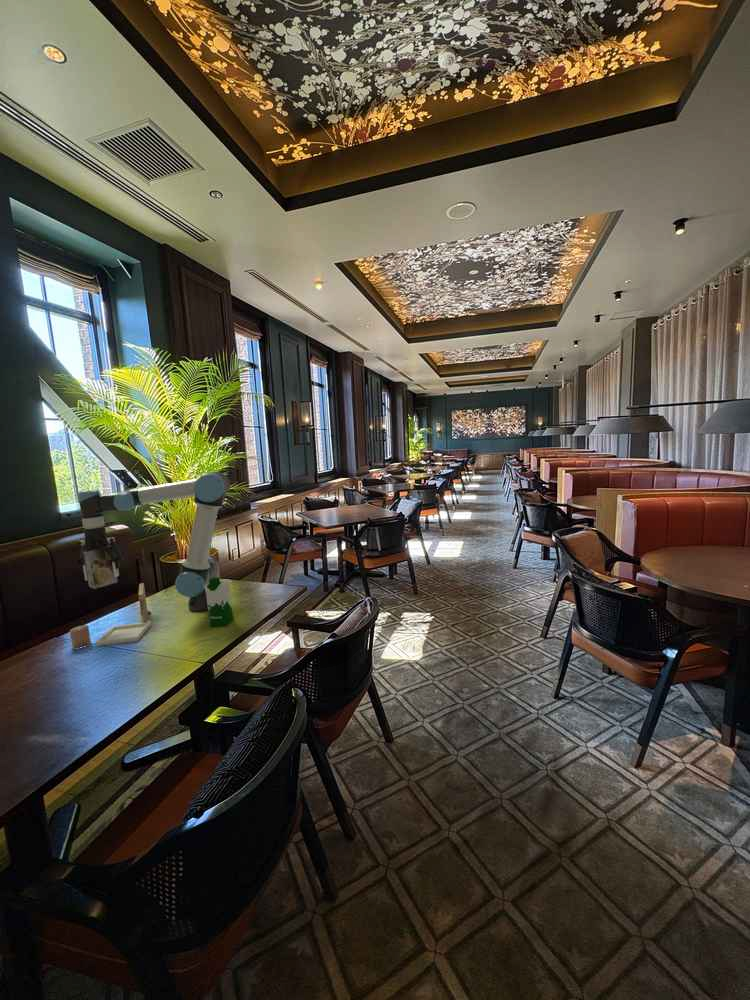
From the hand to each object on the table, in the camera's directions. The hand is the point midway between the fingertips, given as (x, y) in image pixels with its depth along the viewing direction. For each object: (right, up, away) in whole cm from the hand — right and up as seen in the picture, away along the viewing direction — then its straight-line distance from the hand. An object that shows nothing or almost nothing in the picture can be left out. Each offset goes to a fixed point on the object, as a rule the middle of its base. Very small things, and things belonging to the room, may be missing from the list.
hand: (102, 577), depth 178 cm
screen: (+13, -20, +9) cm, 26 cm away
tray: (+14, -22, -8) cm, 27 cm away
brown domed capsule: (+1, -24, -14) cm, 28 cm away
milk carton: (+52, -19, -2) cm, 55 cm away
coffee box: (0, -3, 0) cm, 3 cm away
